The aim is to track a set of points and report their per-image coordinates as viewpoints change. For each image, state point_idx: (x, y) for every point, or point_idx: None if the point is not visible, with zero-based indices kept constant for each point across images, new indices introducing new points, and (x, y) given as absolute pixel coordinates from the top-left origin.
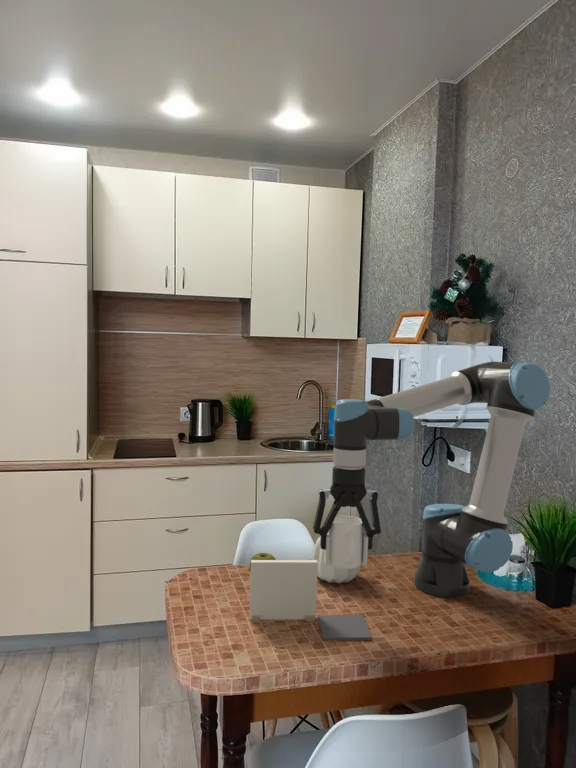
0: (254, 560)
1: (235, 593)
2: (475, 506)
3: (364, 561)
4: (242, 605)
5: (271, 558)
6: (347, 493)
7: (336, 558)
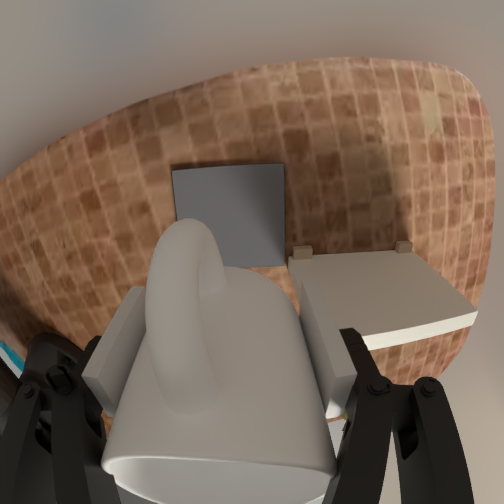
0: (468, 323)
1: None
2: None
3: (138, 294)
4: None
5: None
6: None
7: (271, 295)
